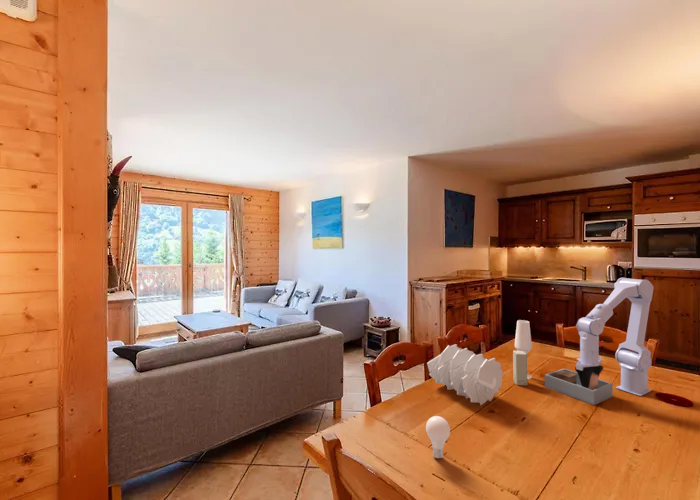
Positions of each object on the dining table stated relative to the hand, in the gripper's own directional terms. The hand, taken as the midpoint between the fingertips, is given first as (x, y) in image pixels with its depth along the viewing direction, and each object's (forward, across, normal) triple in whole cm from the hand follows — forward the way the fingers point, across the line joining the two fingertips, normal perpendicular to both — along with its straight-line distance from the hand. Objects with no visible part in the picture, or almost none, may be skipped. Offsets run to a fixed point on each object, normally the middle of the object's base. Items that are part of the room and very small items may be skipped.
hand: (588, 385), depth 126 cm
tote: (+4, 0, -4) cm, 6 cm away
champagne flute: (+4, +4, -24) cm, 25 cm away
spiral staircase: (+4, +40, -24) cm, 47 cm away
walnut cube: (+3, 0, -8) cm, 9 cm away
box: (+4, +12, -20) cm, 24 cm away
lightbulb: (+4, +76, -1) cm, 76 cm away
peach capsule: (+3, 0, 0) cm, 3 cm away
